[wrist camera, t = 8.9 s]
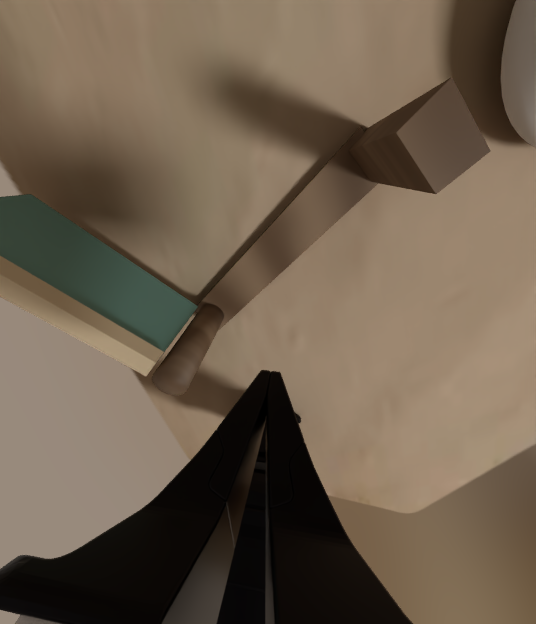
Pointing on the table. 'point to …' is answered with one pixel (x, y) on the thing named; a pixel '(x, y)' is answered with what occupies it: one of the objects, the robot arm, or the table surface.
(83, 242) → the panel
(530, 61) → the flower in vase
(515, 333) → the table surface
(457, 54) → the table surface
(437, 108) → the gate frame
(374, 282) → the table surface
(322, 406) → the table surface
